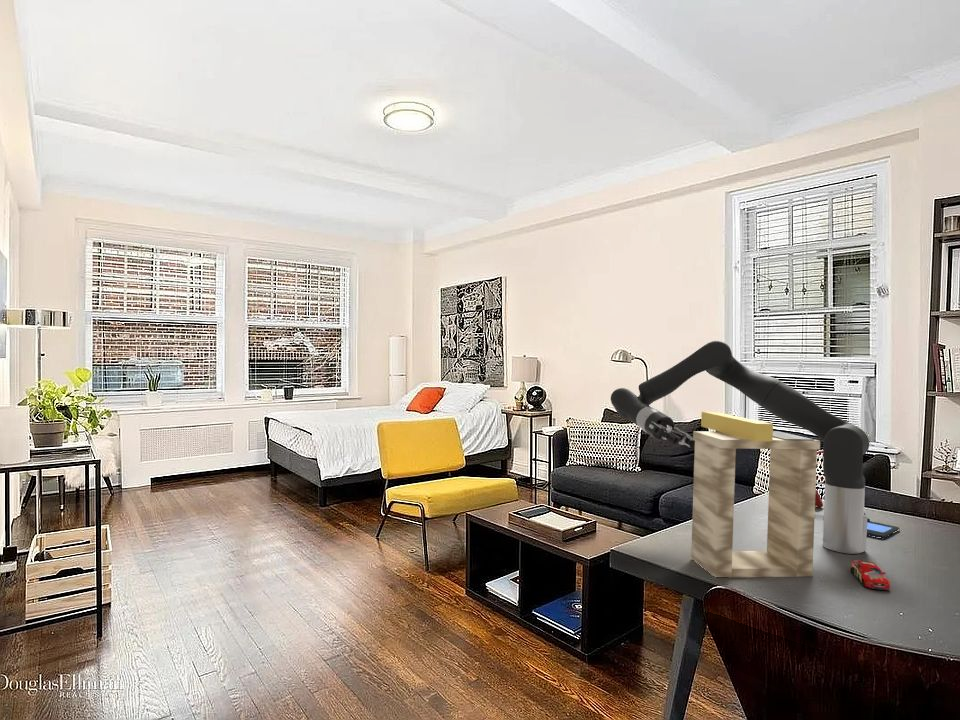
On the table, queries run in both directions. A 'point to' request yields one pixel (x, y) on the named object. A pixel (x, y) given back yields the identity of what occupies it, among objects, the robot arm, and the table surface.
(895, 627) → the table surface
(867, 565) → the race car
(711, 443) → the shelf
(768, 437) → the beam
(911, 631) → the table surface
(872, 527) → the handheld game console
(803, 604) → the table surface
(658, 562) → the table surface
